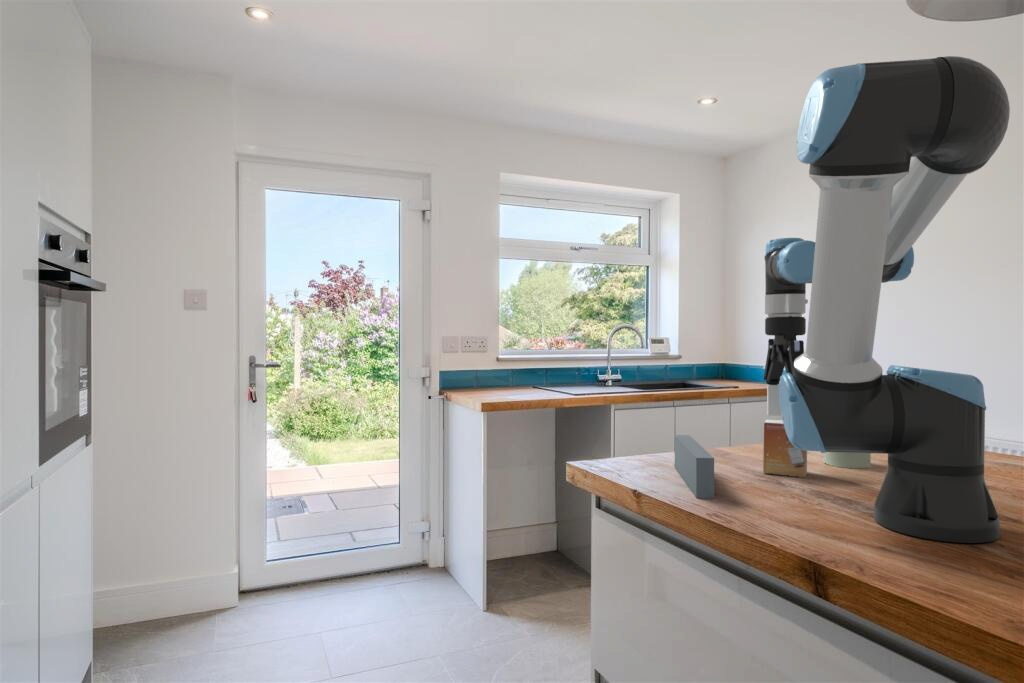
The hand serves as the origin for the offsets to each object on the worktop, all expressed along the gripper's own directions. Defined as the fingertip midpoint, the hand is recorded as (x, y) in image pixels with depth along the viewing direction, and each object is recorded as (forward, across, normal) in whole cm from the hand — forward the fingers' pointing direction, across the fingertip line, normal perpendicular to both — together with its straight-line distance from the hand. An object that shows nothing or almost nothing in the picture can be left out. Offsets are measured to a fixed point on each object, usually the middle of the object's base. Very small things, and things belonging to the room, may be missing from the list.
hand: (784, 420), depth 125 cm
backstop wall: (+10, -10, +20) cm, 25 cm away
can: (+11, +9, -16) cm, 22 cm away
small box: (+11, -1, 0) cm, 11 cm away
